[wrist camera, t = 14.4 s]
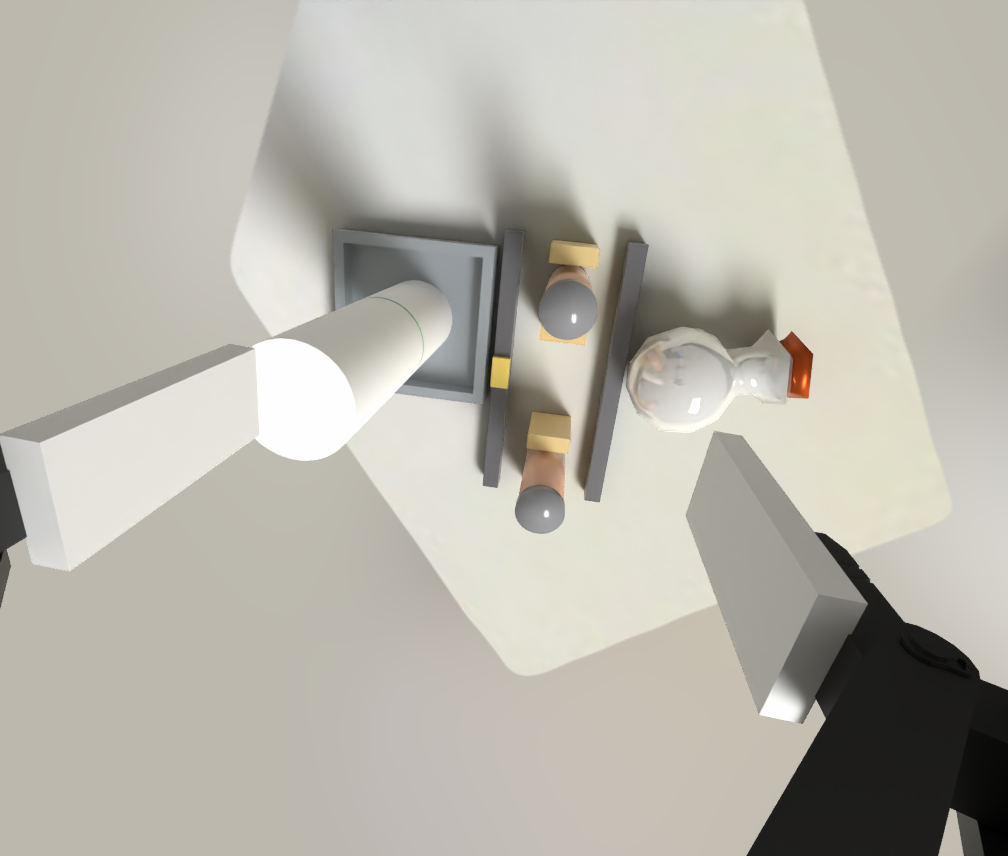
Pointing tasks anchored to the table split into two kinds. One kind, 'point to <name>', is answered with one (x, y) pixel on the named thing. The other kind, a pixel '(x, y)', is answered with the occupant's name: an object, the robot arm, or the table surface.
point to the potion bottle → (712, 376)
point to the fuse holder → (553, 428)
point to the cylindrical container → (344, 367)
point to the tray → (452, 270)
